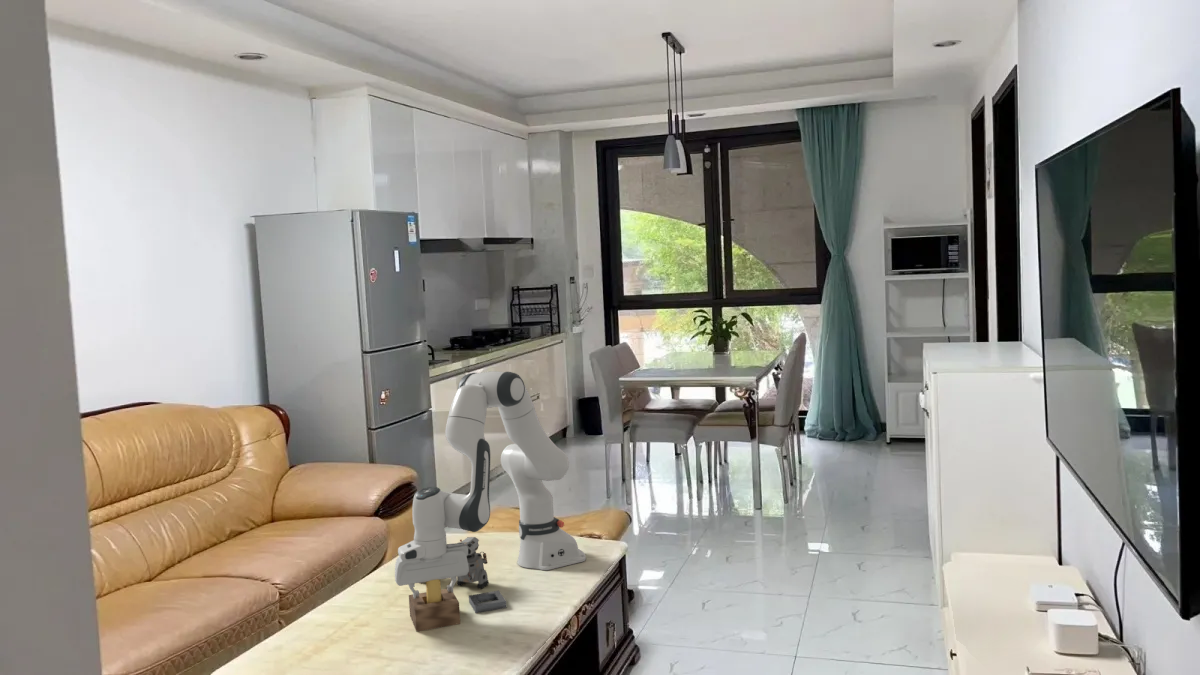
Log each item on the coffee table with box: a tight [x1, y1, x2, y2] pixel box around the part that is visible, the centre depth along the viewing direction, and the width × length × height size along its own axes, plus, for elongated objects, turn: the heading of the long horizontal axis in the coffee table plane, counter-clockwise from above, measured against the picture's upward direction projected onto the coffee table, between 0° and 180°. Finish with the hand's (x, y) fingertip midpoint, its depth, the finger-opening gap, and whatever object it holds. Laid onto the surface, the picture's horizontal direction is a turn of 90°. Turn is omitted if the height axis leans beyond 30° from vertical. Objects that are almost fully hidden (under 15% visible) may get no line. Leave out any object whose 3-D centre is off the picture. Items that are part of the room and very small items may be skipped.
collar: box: [468, 590, 507, 614], centre depth 258 cm, size 9×9×2 cm
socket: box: [408, 588, 461, 632], centre depth 249 cm, size 12×12×6 cm
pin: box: [425, 579, 442, 604], centre depth 249 cm, size 4×4×12 cm
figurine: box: [456, 536, 490, 590], centre depth 272 cm, size 9×12×15 cm
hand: (433, 595), depth 249 cm, fingers open, 8 cm apart
